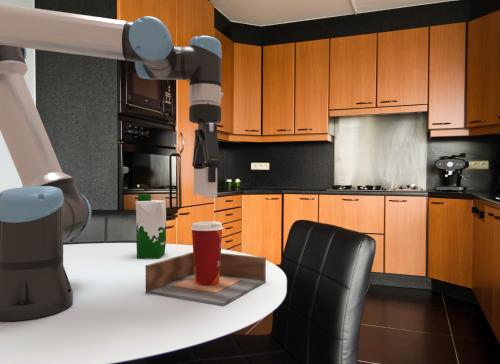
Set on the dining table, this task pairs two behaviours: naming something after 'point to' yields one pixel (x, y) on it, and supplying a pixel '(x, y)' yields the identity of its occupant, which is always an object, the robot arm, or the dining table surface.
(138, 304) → the dining table surface
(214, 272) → the paper cup
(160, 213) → the milk carton
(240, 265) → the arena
